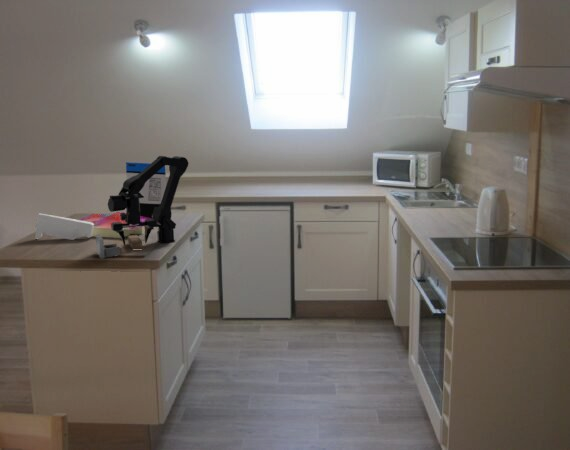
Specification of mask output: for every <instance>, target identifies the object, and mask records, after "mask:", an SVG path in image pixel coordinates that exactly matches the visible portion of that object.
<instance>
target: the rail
mask: <svg viewBox="0 0 570 450" xmlns="http://www.w3.org/2000/svg"><path fill="white" fill-rule="evenodd" d="M128 243H129V244H128ZM127 244H128V246H129V245H130V246H131V247H132V249H142V250H143V241H142V240H141V238H140V237H139V236H138V234H130V235H128V236H127ZM130 246H129V247H130ZM131 247H130V248H131ZM132 249H131V250H132Z"/></svg>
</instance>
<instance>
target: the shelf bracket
mask: <svg viewBox="0 0 570 450" xmlns="http://www.w3.org/2000/svg"><path fill="white" fill-rule="evenodd" d="M35 228H36V229H35V237H34V240H35V239H37V240H39V239H40V238H42V237H43V234H45V235H47V236H51V237H55V238H59V239H65V240H72V241H73V240H76V239H78V238H81V237H84V238H85V237H86V238H89V239H90V238H91V237H93V236H92V235H93V230H94V223H92V222H87V221H81V220H80V219H74V218H70V217H63V216H59V215H58V216H57V215H53V214H52V215H50V214H46V213H38V214H37V219H36V223H35Z"/></svg>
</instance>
